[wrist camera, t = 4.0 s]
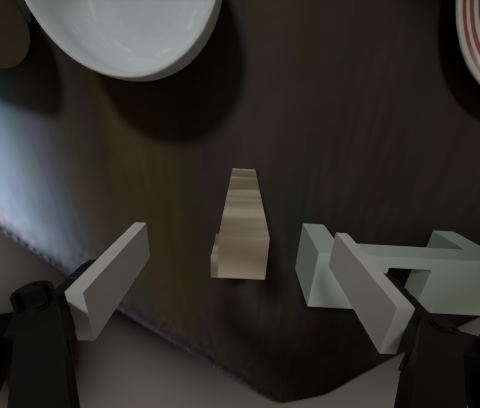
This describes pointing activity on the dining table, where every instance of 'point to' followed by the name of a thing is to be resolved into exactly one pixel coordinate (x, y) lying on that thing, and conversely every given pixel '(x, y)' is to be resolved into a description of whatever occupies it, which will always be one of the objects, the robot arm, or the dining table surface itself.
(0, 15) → the ceramic mug
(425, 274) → the bridge
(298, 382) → the dining table surface
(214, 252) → the short pin
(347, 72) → the dining table surface
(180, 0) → the cereal bowl
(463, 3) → the dinner plate
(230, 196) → the tall pin
